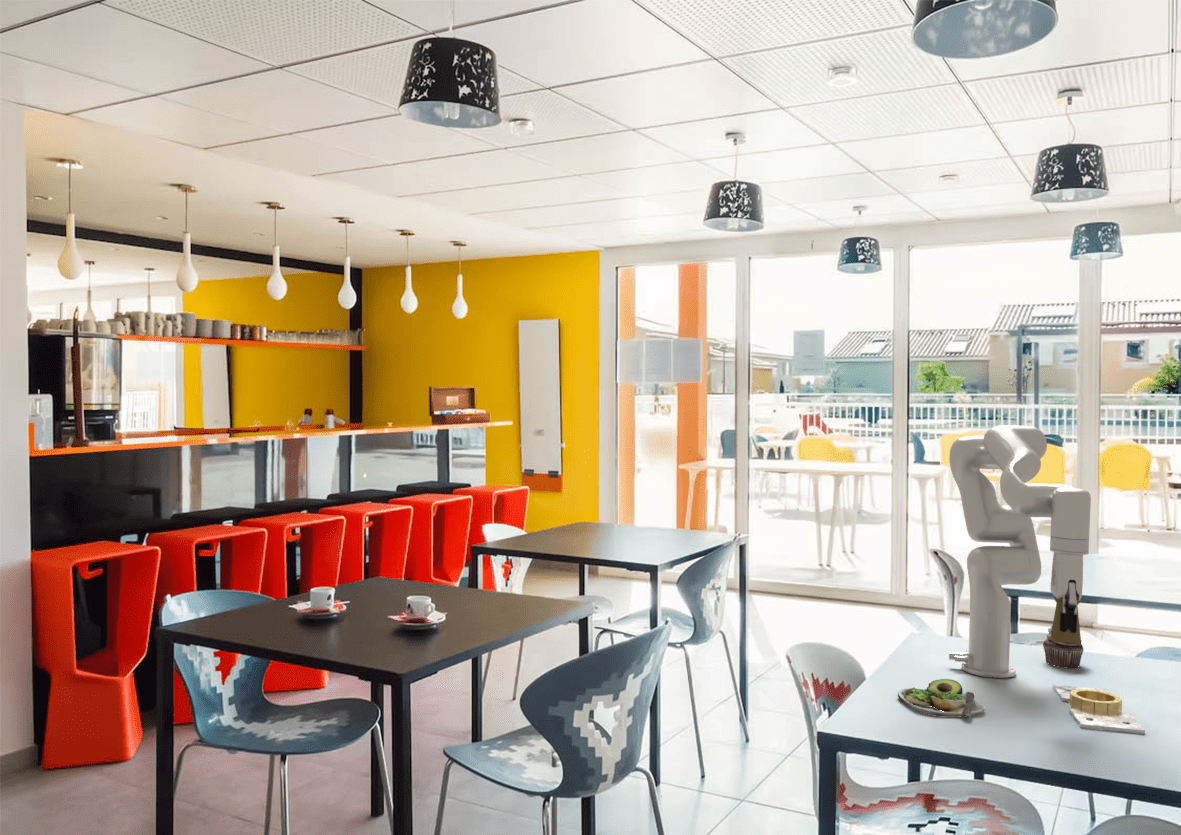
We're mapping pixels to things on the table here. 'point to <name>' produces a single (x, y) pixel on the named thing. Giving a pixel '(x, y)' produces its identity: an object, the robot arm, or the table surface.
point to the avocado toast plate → (942, 699)
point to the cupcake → (1062, 652)
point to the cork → (1056, 632)
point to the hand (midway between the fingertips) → (1066, 628)
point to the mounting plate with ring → (1097, 709)
